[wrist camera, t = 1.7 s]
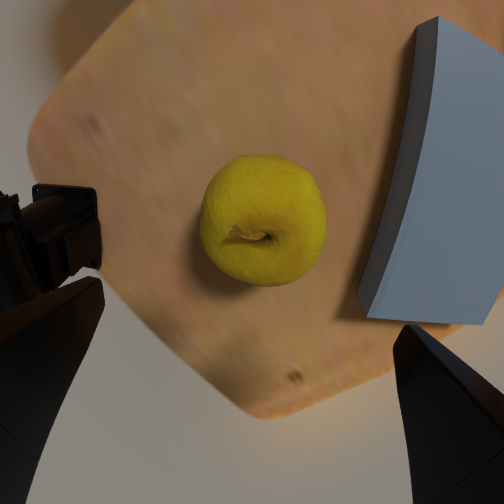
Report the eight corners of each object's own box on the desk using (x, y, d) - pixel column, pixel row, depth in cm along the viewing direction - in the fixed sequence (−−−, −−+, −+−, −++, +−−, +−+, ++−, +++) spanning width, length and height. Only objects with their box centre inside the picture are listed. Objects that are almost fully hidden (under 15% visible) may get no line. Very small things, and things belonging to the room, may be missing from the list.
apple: (208, 150, 17) (166, 178, 10) (313, 144, 17) (345, 167, 10) (220, 245, 20) (194, 320, 13) (315, 240, 20) (337, 314, 13)
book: (356, 292, 21) (366, 317, 19) (416, 25, 12) (438, 15, 10) (467, 305, 22) (482, 325, 19) (529, 94, 13) (552, 97, 10)
